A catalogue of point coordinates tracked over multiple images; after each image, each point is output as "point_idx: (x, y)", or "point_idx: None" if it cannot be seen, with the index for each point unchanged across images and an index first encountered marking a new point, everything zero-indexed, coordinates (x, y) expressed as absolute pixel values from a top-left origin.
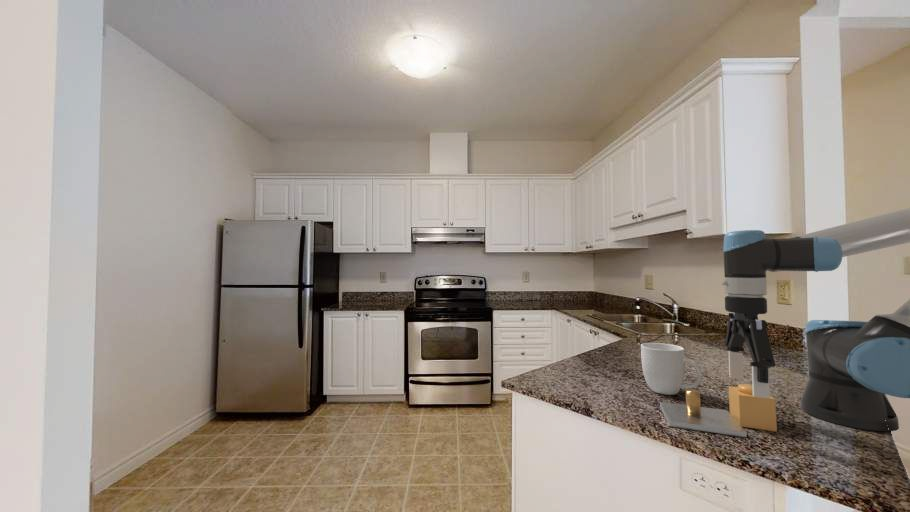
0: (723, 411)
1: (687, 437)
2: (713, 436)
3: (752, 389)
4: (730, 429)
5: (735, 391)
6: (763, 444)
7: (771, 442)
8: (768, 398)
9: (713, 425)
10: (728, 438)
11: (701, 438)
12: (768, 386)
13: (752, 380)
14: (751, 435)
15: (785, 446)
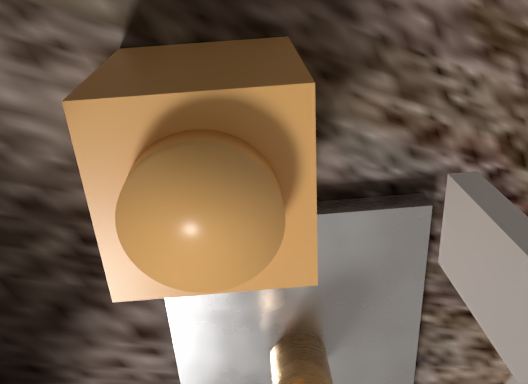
0: None
1: (484, 370)
2: (449, 299)
3: (458, 289)
4: (426, 258)
5: (236, 287)
6: (476, 147)
7: (443, 108)
8: (315, 124)
9: (402, 308)
10: None
11: (480, 335)
12: (524, 225)
13: (499, 343)
14: (389, 168)
15: (472, 62)
